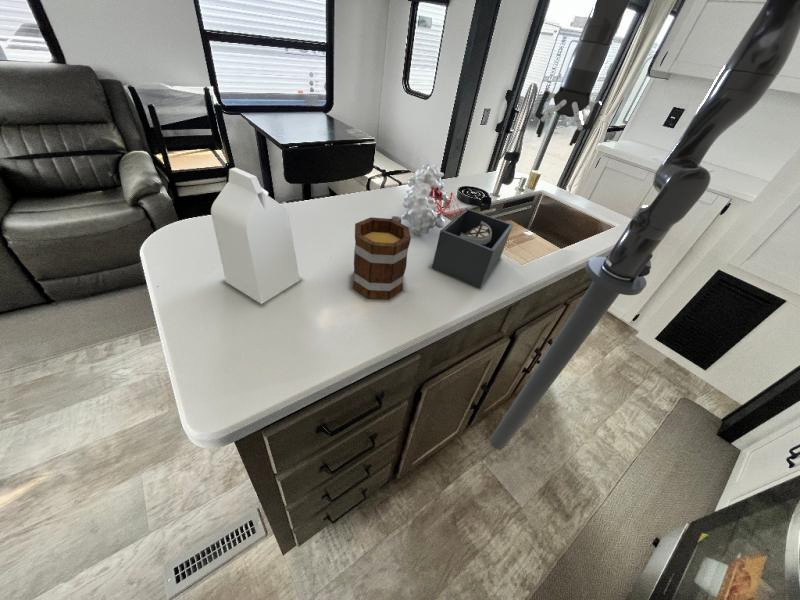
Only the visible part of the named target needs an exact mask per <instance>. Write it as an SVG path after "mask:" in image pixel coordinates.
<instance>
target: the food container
mask: <svg viewBox="0 0 800 600" xmlns="http://www.w3.org/2000/svg"><path fill="white" fill-rule="evenodd" d="M459 237H462V238H465V239H467V240H470V241H472V242H475V243H478V244H480V245H483V246H486V244H487V243H489V242H490V241H491V237H492V232H491V228H490V227H489V226H488V225H487V224H486V223H484V222H482V221H481V224H480V225H479V226H477V227H475V228H472V229H471V230H469V231H468V232H467V233H465V234H463V233H461V235H460V236H459Z"/></svg>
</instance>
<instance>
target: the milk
mask: <svg viewBox="0 0 800 600" xmlns="http://www.w3.org/2000/svg"><path fill="white" fill-rule="evenodd" d="M210 207H211V208H210V215H211V220H212V224H213V228H214V233H215V238H216V242H217V246H218V252H219V255H220V261H221V265H222V270H223V275H224V279H225V283H227V284H228V285H230V286H232V288H235V289H236V290H237V291H240V292H241V293H243V294H244V295H246V296H248V297H249V298H251V299H252V300H254V301H255V302H257V303H259V304H260V305H263V304H264V303H266V302H267V301H269V300H271V299H272V298H274V297H275V296H277V295H279V294H281V293H282V292H284V291H285V290H286V289H288V288H290V287H292V286H293V285H295V284H297V283H298V282H299V281H301V280H300V272H299V267H298V262H297V261H298V260H297V255H296V249H295V245H294V238H293V232H292V225H291V220H290V214H289V211H288V210H287V208H286V207H285V206H284V205H283V204H281V203H279V202H278V201H277V200H275V199H274V198H272V197H271V196H270V195H269V191H267V190H266V189H264V188H263V187H262V186H261V184H260V181H259V179H258V177H257V176H256V175H254V174H253V173H249V172H247V171H245V170H242V169H240V168H237V167H232V168H229V169H228V181H227V183H226V184H225V186H224V187H223V188H222V190H221V191H220V192H219V194H218V195H217V197H216V198H215V199H214V201H213V203H212V205H211V206H210Z"/></svg>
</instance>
